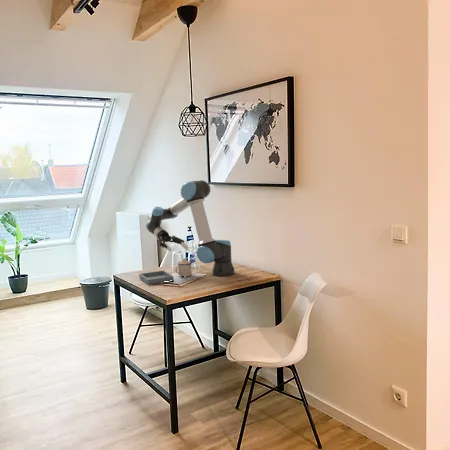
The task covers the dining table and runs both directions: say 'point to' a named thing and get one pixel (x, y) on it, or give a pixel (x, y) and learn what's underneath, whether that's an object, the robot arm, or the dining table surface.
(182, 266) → the teacup with lid
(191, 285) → the dining table surface
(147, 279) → the grey tray
